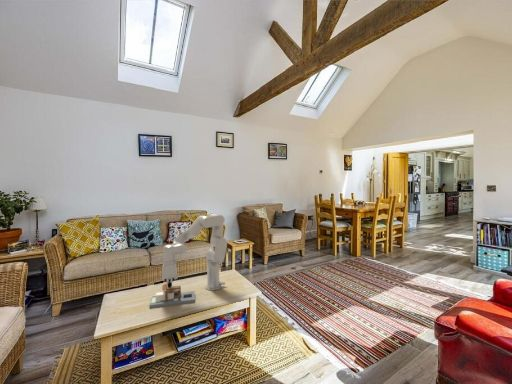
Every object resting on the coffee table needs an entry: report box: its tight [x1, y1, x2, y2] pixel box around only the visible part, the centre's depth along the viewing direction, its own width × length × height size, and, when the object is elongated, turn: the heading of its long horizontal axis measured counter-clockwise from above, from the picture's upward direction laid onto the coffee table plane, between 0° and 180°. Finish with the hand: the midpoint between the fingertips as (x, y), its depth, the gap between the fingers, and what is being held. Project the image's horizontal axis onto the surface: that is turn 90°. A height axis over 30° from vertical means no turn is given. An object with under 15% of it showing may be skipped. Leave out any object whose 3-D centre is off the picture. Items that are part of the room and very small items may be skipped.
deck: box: [149, 291, 196, 309], centre depth 177 cm, size 30×14×2 cm, turn 105°
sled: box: [154, 281, 174, 301], centre depth 175 cm, size 12×7×10 cm, turn 105°
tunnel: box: [165, 285, 182, 302], centre depth 177 cm, size 10×9×6 cm
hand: (169, 287), depth 176 cm, fingers closed
